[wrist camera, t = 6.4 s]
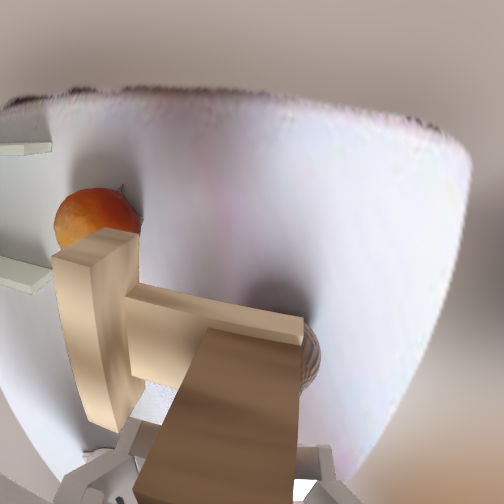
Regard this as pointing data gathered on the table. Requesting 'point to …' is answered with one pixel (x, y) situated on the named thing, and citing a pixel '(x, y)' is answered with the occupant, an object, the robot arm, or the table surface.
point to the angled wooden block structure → (183, 376)
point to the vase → (309, 358)
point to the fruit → (94, 215)
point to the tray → (13, 270)
